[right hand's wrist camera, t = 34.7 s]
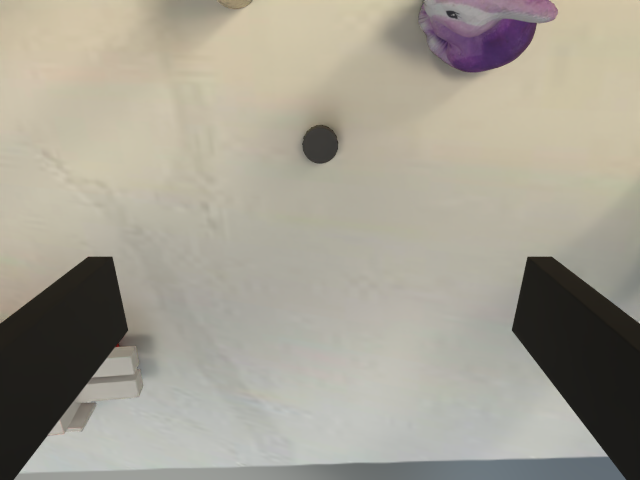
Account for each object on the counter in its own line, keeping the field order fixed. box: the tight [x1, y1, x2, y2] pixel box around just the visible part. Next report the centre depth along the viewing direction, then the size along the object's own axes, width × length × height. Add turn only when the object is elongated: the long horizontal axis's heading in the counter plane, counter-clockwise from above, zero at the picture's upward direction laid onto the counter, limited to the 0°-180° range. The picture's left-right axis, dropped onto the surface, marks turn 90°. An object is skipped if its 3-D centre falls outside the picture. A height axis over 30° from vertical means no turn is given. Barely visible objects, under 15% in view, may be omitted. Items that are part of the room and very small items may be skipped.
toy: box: [48, 344, 143, 436], centre depth 49 cm, size 12×13×30 cm
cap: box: [302, 125, 338, 163], centre depth 43 cm, size 4×4×2 cm
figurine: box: [418, 0, 558, 72], centre depth 32 cm, size 9×10×15 cm
